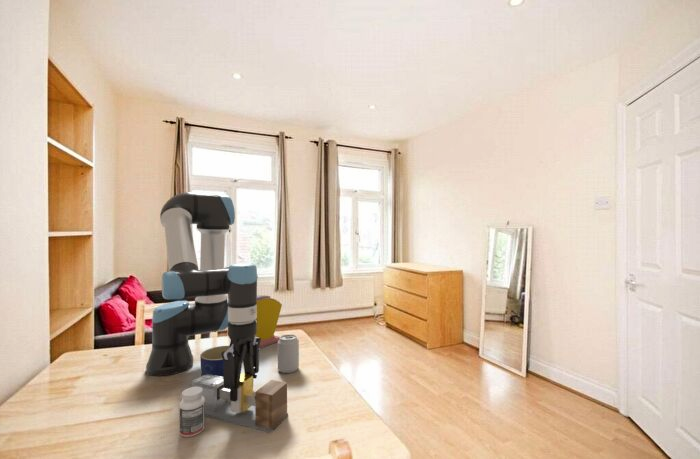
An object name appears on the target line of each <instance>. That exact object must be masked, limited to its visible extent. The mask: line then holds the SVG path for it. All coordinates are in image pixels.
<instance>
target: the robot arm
mask: <svg viewBox="0 0 700 459" xmlns="http://www.w3.org/2000/svg"><path fill="white" fill-rule="evenodd" d="M160 210H161V211H160V212H159V213H160V215H159V216H160V218H159V221H160V224H161V226H162V227H163V228H164V234H165V244H166V254H167V255H166V256H167V264H168V265H167V266H168V271H166V272H164V273H163V274H162V276H161V295H162V297H163V299H165V300H166V301H167V300H175V301H171V302H167V303H163V304H161V305H159V306H157V307H155V308H154V310H152V311H153V312H152V320H151V324H152V332H151V333H152V334H151V338H152V340H151V342H152V343H151V350H150V353H149V357H148V361H147V363H146V365H145V366H146V367H145V373H146V374H147V375H149V376H156V377H161V376H169V375H174V374H178V373H181V372H184V371H187V370H188V369H189V368H191V367H192V366H193V365H194V355H193V353H192V350H191V346H190V344H189V337H190V336H195V335H196V336H197V335H202V334H210V333H217V332H219V331H220V332H221V331H224V330H227V337H228V338H229V339H230V342H229V345H228V346H229V349H228V350H227V351H223V352H222V353H221V355H222V358H223V375H224V388H226V389H230V400H231V411H232V412H237V413H240V412H241V387H239V383H240V376H241V374H242V368H243V370H244V374H247V375H252V376H253V380H254V379H257V378H258V374H259V371H260V348H259V345H260V341H261V338H259V337H254V335H255V334H256V333H257V321H256V320H255V319H256V318H257V295H258V278H259V277H258V272H257V271H258V269H257V265H255V264H254V263H248V262H247V263H245V262H243V263H232V264H231V265H229V266H226V267H225V253H226V252H225V247H226V233H227V232H228V231H229V230H230V226H232V225H234V224H235V219H236V215H235V214H236V213H235V212H236V211H235V206H234V202H233V199H232V198H231V196H229V195H226V194H220V193H208V192H206V193H203V192H192V191H191V192H190V191H189V192H187V191H184V192H180V193H178V194H176V195H174V196H172V197H171V198H169V199H168V200H167V201H166V202H165V203H164V204H163V206H162V208H161V209H160ZM191 225H196V230H197V231H198V232H199V233H200V259H199V261H200V263H199V264H198V259H197V253H196V249H195V244H194V239H193V232H192V228H191ZM191 298H194V303H191V304H190V303H189V301H188V300H185V299H191ZM183 299H184V300H183Z"/></svg>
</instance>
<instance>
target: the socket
mask: <svg viewBox="0 0 700 459" xmlns="http://www.w3.org/2000/svg"><path fill="white" fill-rule="evenodd" d="M255 392H256V396H255V425H258V426H262V427H266V428H270V429H273V428H275V429H276V428H277V427H278V426H279V425H277V424H278V423H279V422H280V421H282V419H283V418H284V417H285V416H286V415H287V413H288V382H286V381H280V380H275V379H274V380H273V379H270V380H268V382H266V383H265V384H264V385H263V386H261V387H260V388H258V389H257V390H255ZM282 422H283V421H282ZM282 422H280V424H281V423H282ZM276 425H277V427H275V426H276ZM275 429H273V430H272V432H274V431H275Z"/></svg>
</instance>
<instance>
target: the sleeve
mask: <svg viewBox="0 0 700 459" xmlns="http://www.w3.org/2000/svg"><path fill="white" fill-rule="evenodd" d="M222 385H224V377H222V376H217V375H211V374H205V375H203V376H201V375H200V376H199V377H197V378H195V379H193V380H192V381H191V387H201V388H202V389H203V394H202V396H203V397H204V398H205V410H206V411H210V412H216V411H217V410H218V409H220V408H221V407H223V406H224V405H225V404H227V403H228V400H225V399H220V398H217V388H218V387H220V386H222Z"/></svg>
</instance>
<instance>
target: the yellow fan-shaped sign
mask: <svg viewBox="0 0 700 459" xmlns="http://www.w3.org/2000/svg"><path fill="white" fill-rule="evenodd" d="M282 306H283V304H282V303H281V302H280V301H279V300H277V299H275V298H271V296H270V295H266V294H257V318H256V319H255V320H256V321H257V333H256V334H255V335H254V337H259V338H261V341H260V345H259V349H261V348H264V347H266V346H270V345H272V344H275V343H278V341H279V340H280V337H281V336H279V335H278V336H277V335H275V332H276V329H277V324H278V321H279V317H280V315H281V310H282Z"/></svg>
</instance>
